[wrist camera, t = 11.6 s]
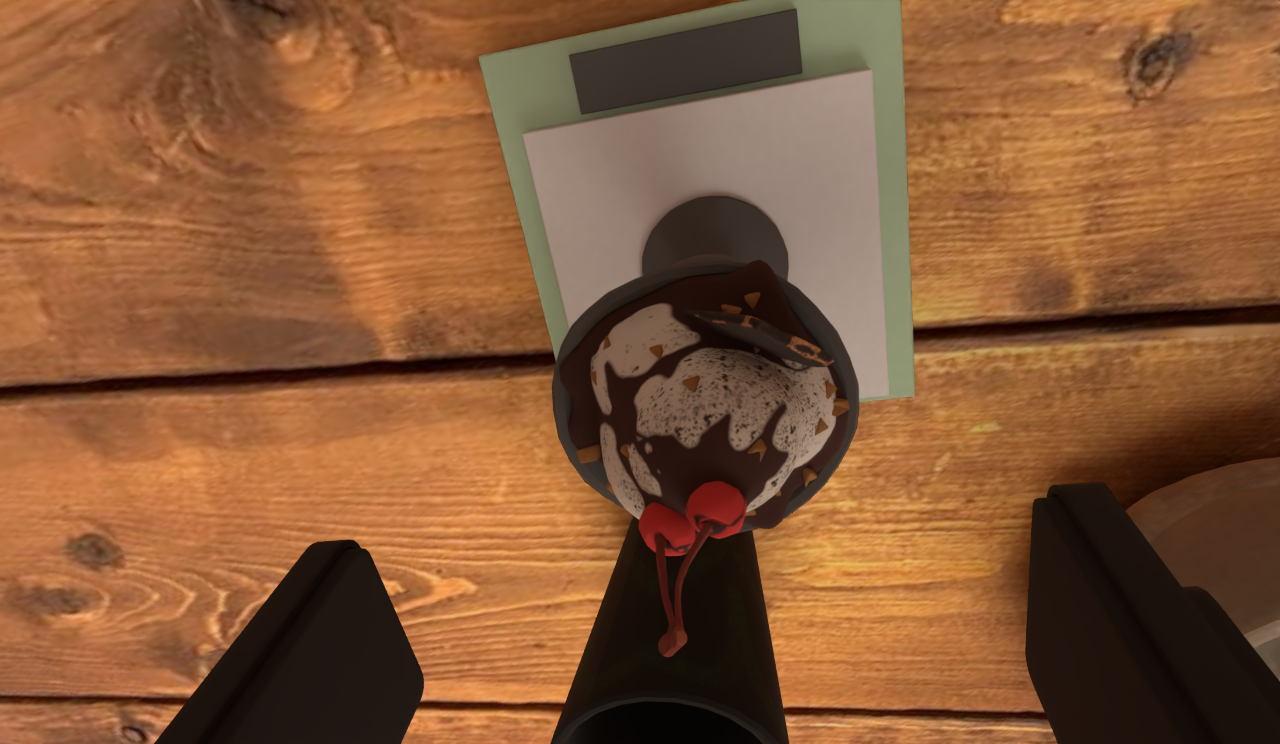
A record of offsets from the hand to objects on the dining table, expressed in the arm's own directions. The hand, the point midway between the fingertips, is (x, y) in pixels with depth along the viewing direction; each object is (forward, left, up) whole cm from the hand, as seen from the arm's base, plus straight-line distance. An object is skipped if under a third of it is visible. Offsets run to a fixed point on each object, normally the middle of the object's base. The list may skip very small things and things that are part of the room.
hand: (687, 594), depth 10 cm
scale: (-1, 0, -19) cm, 19 cm away
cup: (+13, -3, -19) cm, 23 cm away
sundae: (0, 0, -16) cm, 16 cm away
